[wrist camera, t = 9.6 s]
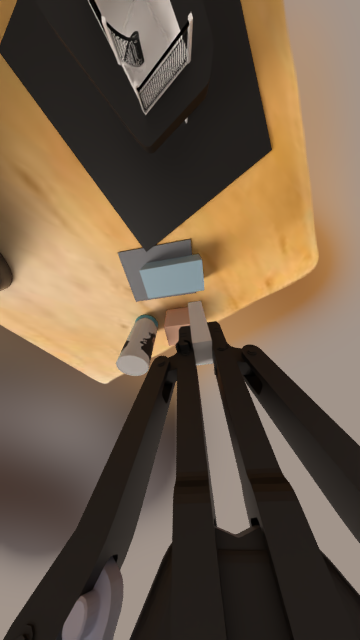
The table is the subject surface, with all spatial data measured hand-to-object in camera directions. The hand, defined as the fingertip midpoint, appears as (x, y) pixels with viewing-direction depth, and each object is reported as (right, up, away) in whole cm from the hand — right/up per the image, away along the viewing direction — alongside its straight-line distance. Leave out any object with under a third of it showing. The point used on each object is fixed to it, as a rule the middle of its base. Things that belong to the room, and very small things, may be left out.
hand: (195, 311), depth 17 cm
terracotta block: (-2, 0, +24) cm, 24 cm away
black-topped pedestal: (-6, +30, +4) cm, 30 cm away
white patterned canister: (-12, -2, +26) cm, 28 cm away
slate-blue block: (+3, +9, +13) cm, 16 cm away
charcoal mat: (-7, +10, +17) cm, 21 cm away
